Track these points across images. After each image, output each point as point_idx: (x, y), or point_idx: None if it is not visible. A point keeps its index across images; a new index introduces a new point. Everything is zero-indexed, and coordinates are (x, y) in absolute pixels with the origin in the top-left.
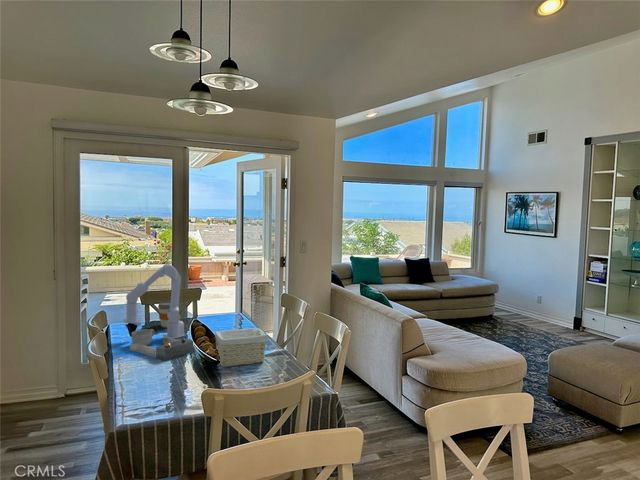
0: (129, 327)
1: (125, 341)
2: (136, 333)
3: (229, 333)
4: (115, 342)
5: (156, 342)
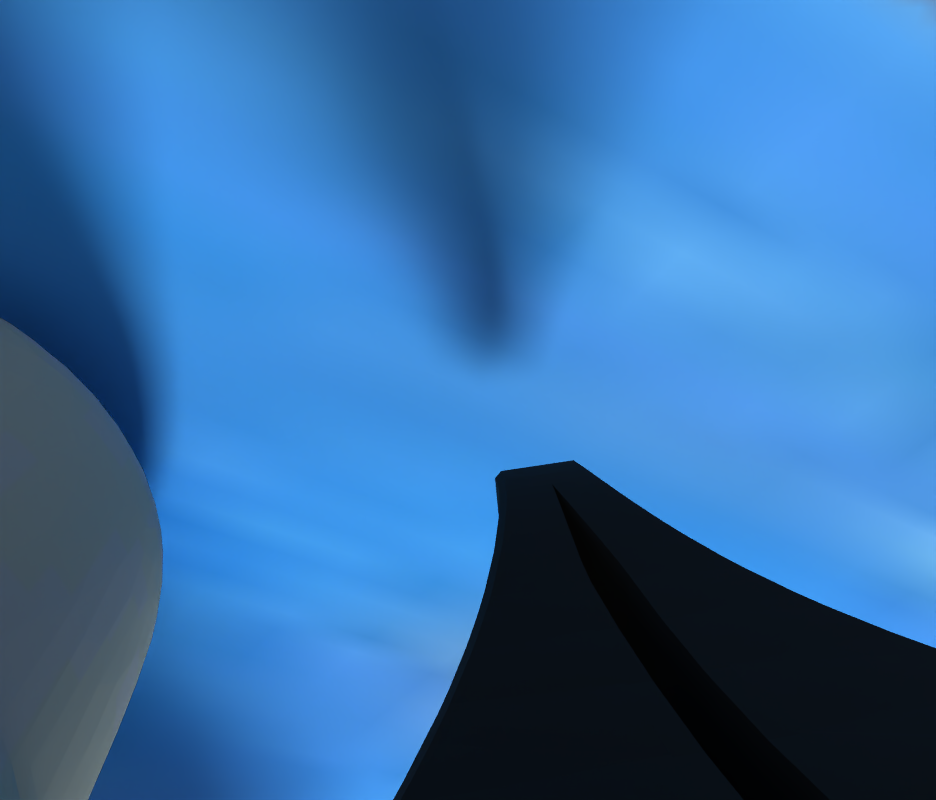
0: (540, 792)
1: (605, 298)
2: (2, 671)
3: None
4: (754, 17)
5: None
